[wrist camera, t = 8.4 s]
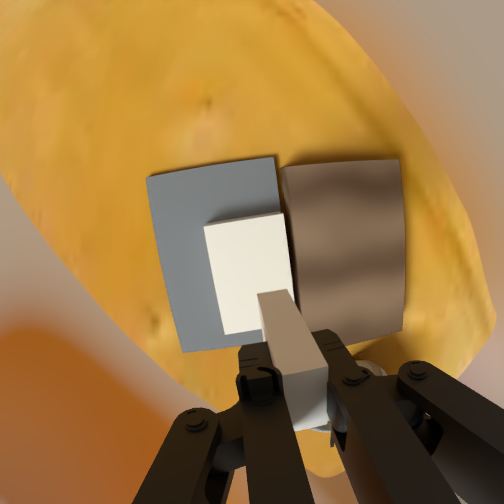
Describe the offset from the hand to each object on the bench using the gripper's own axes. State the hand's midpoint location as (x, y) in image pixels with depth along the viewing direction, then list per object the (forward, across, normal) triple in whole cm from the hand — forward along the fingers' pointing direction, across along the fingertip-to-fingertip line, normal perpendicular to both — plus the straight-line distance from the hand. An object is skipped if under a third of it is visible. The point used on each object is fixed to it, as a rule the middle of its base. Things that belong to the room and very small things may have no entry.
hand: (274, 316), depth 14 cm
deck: (+11, +8, -1) cm, 14 cm away
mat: (+11, -3, 0) cm, 11 cm away
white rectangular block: (+10, 0, -1) cm, 10 cm away
